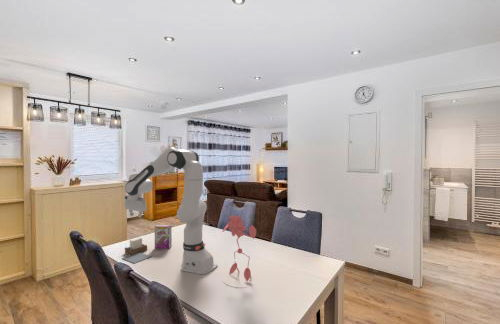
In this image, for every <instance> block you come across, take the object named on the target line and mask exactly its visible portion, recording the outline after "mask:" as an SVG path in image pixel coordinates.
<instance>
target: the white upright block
mask: <svg viewBox="0 0 500 324" xmlns="http://www.w3.org/2000/svg"><path fill="white" fill-rule="evenodd" d="M142 244H143V238H142V237H135V238H132V239H130V240H129V247H130V249H133V250H134V249H137V248H140V247H142Z"/></svg>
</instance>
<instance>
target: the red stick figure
mask: <svg viewBox="0 0 500 324" xmlns="http://www.w3.org/2000/svg"><path fill="white" fill-rule="evenodd" d="M227 229H228V230H229V231H231V232H230V233H231V235H232V237H235V236H237V237H236V243H237V246H238V249H237V250H236V251H234V252H233V253H234V255H233V256H234V258H236V253H238V254H240V255H241V254H243V255H245V256H246V257H248V263H247V267H246V268H245V269H244V271H243V278H244V279H245V281H246V282H248V281H249V280H250V278H252V276H251V275H252V274H251V269H250V268H249V264H250V258H251V257H250V256H249V255H247V254H245V253H243V248H240V245H239V239H240V238H241V237H243V236H247V237H249V238H252V239H253V240H254V239H256V236H257V228H256V227H255V226H254V225H253V224H251V225H250V226H249V229H248V233H249V235H248V234H245V231H246V226H244V221H243V220H242V217H241V215H238V216H236V215H235V214H232V215H230V216H229V220H228V221H227V224H226V225H225V227H223V229H222V233H223V232H225V231H226V230H227ZM236 270H237V272H238V273H240V270H239V268H238V263H237V262H234V263H233V264H232V265H231V267H230V268H229V273H228V274H229V275H231V274H234V272H235V271H236ZM225 286H227V287H231V288H232V287H233V286H232V285H229V284H227V283H225ZM235 288H236V289H242V288H243V289H244V288H246V286H244V287H236V286H235Z"/></svg>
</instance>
